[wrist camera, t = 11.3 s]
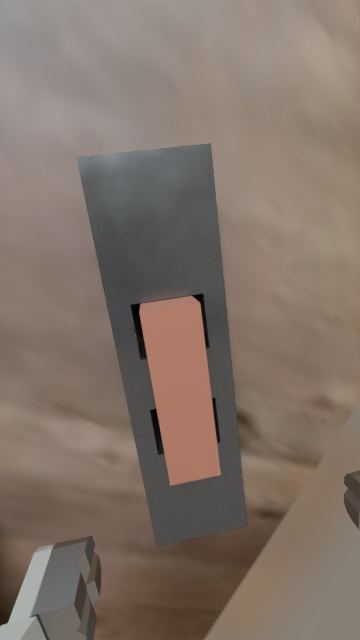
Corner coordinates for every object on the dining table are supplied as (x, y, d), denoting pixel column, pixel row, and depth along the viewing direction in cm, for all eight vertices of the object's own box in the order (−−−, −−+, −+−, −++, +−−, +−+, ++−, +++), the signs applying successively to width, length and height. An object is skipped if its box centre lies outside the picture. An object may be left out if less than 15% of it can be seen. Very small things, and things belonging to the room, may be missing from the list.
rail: (90, 177, 19) (76, 157, 15) (198, 165, 20) (210, 143, 16) (155, 504, 26) (156, 546, 23) (232, 487, 27) (246, 525, 23)
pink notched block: (141, 295, 22) (139, 312, 15) (183, 289, 22) (200, 303, 15) (163, 422, 24) (170, 485, 18) (200, 415, 25) (220, 475, 18)
